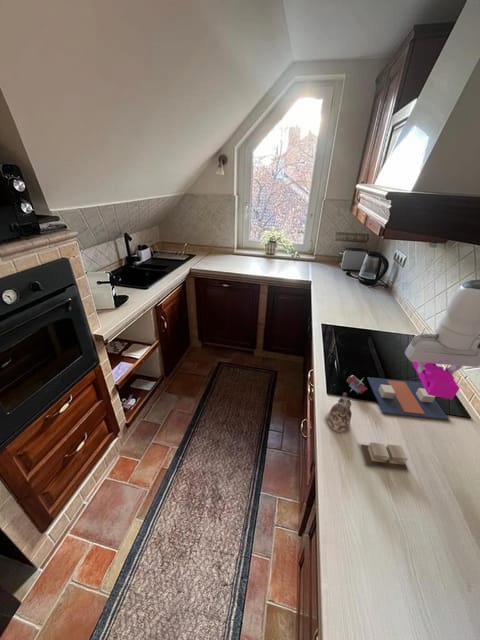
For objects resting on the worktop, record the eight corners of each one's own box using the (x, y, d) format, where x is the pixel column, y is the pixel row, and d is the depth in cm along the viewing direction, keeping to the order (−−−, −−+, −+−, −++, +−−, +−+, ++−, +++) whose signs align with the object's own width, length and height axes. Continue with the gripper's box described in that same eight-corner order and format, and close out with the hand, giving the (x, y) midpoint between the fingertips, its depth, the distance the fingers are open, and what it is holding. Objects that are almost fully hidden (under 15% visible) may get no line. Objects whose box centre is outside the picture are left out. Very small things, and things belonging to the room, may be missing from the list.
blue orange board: (422, 383, 104) (425, 376, 102) (448, 420, 88) (453, 413, 86) (366, 378, 106) (369, 371, 104) (382, 413, 90) (385, 406, 88)
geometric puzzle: (373, 388, 98) (364, 370, 97) (367, 399, 93) (358, 379, 93) (355, 389, 103) (347, 372, 102) (348, 399, 98) (340, 380, 98)
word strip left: (397, 450, 78) (402, 443, 76) (406, 470, 73) (411, 462, 71) (360, 446, 79) (364, 438, 77) (367, 465, 74) (370, 457, 72)
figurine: (325, 426, 85) (332, 401, 79) (328, 411, 91) (335, 386, 84) (347, 435, 82) (357, 409, 76) (349, 418, 88) (358, 393, 82)
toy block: (452, 399, 73) (464, 380, 69) (428, 394, 74) (438, 375, 70) (432, 366, 85) (442, 348, 82) (412, 362, 87) (420, 345, 83)
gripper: (421, 339, 69) (403, 377, 76) (501, 345, 68) (476, 382, 75) (410, 327, 75) (394, 363, 82) (484, 332, 73) (462, 368, 80)
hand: (434, 372), depth 78 cm, fingers closed on toy block, 6 cm apart
